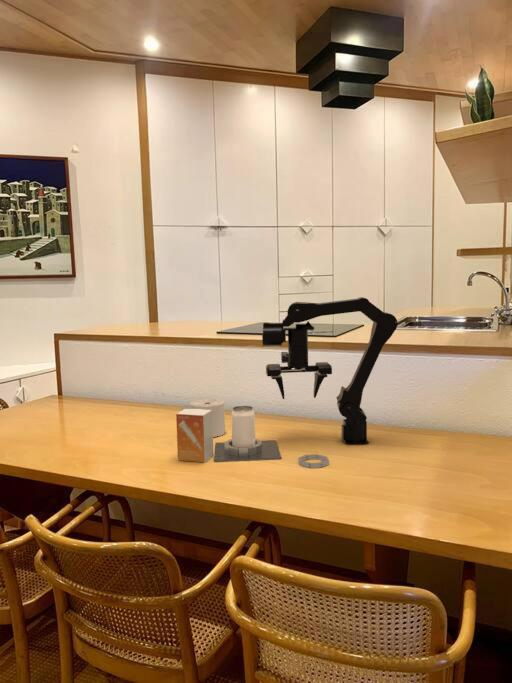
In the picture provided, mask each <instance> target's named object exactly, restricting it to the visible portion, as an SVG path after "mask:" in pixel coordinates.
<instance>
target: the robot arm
mask: <svg viewBox="0 0 512 683" xmlns="http://www.w3.org/2000/svg"><path fill="white" fill-rule="evenodd" d="M357 312H360V313H361V314H363V315H364V316H365V317H366V318H368V319H369V320H370V321H372V325H371V326H372V327H371V330H370V336H369V341H368V343H367V346H366V348H365V350H364V352H363V353H362V356H361V358H360V361H359V364H358V366H357V368H356V369H355V372H354V374H353V377H352V378H351V381H350V383H349V384H348V385H347V387H344V386H341V387H340V391H339V393H338V396H336V400H337V402H336V405H337V408H338V410H339V414H340V415H341V416H342V417H344V418H343V419H342V422H343V423H342V424H341V439H342V440H343V441H344V443H345V444H346V445H354V444H355V445H358V444H361V445H362V444H369V440H368V436H367V435H368V431H367V430H368V428H367V427H368V422H367V421H368V420H367V419H368V418H367V415H366V413H365V411H364V410H363V408H361V404H362V398H363V394H364V393H363V392H364V390H365V387H366V384H367V382H368V380H369V378H370V375H371V374H372V371H373V369H374V367H375V365H376V362H377V360H378V358H379V356H380V354H381V352H382V349H383V347H384V345H385V344H386V343H387V342H388V341H389V340H390V339H391V338H392V336H393V334H394V333H395V331H396V330H397V328H398V323H399V322H398V319H397V317H396V316H395V315H393V314H392V313H389V312H385V311H382V310H381V309H380V308H378V307H377V306H376V305H375V304H373V303H372V302H370V300H369V299H368V298H367V297H364V296H363V297H362V296H361V297H357V298H353V299H352V298H351V299H342V300H334V301H326V302H309V301H308V302H306V301H294V302H291V304H290V305H289V306H288V308H287V315H286V316H285V318H284V319H282V322H263V324H262V335H261V336H262V339H261V340H262V347H279V346H282V347H283V344H284V343H286V341H287V346H288V347H287V349H288V351H281V352H280V355H281V356H280V357H281V360H280V361H281V363H268V364H266V366H265V374H266V376H267V377H270V378H271V379H272V380H275V381H276V383H277V385H278V388H279V391H280V395H281V398H282V400H285V389H284V382H283V380H284V379H283V377H282V374H285V373H286V374H287V373H290V374H291V373H293V374H294V373H313V372H314V383H313V398H314V399H316V397H317V395H318V392H319V390H320V387H321V385H322V383H323V381H324V380H325V378H328V375H333V367H332V365H331V364H330V363H329V362H328V361H322V362H319V361H318V362H317V361H316V362H315V364H314V365H313V364H312V365H309V336H308V335H309V333H308V332H309V331H314V329H315V327H314V325H312V324H311V322H310V320H313V319H316V318H318V317H323V316H331V315H332V316H333V315H340V314H349V313H357ZM303 322H305V323H303ZM294 323H296V324H295V327H290V326H292V325H293V324H294ZM286 332H287V333H286ZM286 334H287V337H286ZM286 338H287V339H286ZM280 364H286V365H287V366H286V365H284V366H281V365H280Z"/></svg>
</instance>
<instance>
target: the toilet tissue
mask: <svg viewBox="0 0 512 683" xmlns="http://www.w3.org/2000/svg"><path fill="white" fill-rule="evenodd" d="M180 407H181V411H182V410H184V409H203V410H212V425H213V438H216V437H217V436H218V437H221V436H223V435H224V434H225V433H226V421H225V420H226V419H225V418H226V416H225V401H224V400H222V399H219V398H218V399H216V398H205V399H198V400H194V401H191V402H190V405H185V404H181V405H180Z"/></svg>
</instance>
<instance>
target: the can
mask: <svg viewBox="0 0 512 683" xmlns="http://www.w3.org/2000/svg"><path fill="white" fill-rule="evenodd" d="M230 415H231V416H230V417H231V439H232V447H239V448H241V447H251V446H254V445H255V438H256V427H255V426H256V421H255V419H256V418H255V411H254V410H253V407H252V406H250V405H238V406H235V407H233V408H232V412H231V414H230Z"/></svg>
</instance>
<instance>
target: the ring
mask: <svg viewBox="0 0 512 683" xmlns="http://www.w3.org/2000/svg"><path fill="white" fill-rule="evenodd" d="M297 459H298V460H297V461H298V464H299V466H300V467H303V466H304V468H308V469H317V468H318V469H321V467H322V468H324V467H327V466H328V464H329V465H330V459H329V458H328V456H327V455H323V454H318V453H317V454H311V453H310V454H304V455H302V456H300V457H298V458H297ZM308 460H320V462H308Z"/></svg>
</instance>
